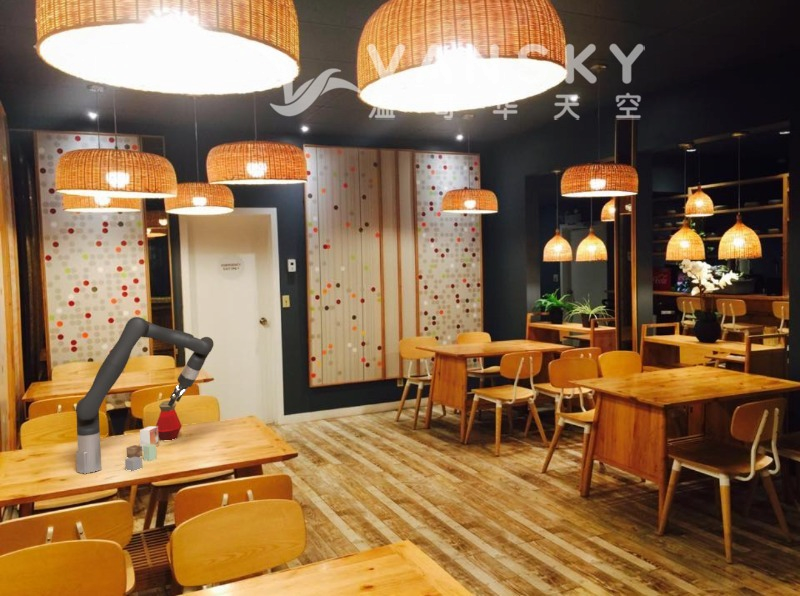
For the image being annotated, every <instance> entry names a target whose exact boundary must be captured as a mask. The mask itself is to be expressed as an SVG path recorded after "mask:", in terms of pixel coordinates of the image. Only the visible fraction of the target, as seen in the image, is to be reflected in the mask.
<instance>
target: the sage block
mask: <svg viewBox="0 0 800 596" xmlns="http://www.w3.org/2000/svg"><path fill="white" fill-rule="evenodd" d="M142 454H143V461H144V460H147V461H146V462H149V461H150V462H153V461H155V460H154V459H156V460H157V448H156V445H153V444H148V445H145V446H143V450H142ZM152 460H153V461H152Z"/></svg>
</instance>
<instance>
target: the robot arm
mask: <svg viewBox="0 0 800 596" xmlns="http://www.w3.org/2000/svg"><path fill="white" fill-rule="evenodd" d="M141 338H149V339H155V340H159V341H162V342H164V343H167V344H169V345H173V346H175V347H180V348H184V349H188V350H189V351H191V352H192V354H191V355H190V357H189V359H188V361H187V362H186V364H185V365H184V367H183V368H182V370H181V372H180V374H179V375H178V377H177V378H176V379H177V382H178V384H179V385H177V386H175V388H174V390H173V391H172V394H171V395H170V396H169V398H170V400H168V401H169V403H168V405H169V406H170V407H172V406H173V404H174V403H176V402H177V403H179V402H180V400H181V398H182V397H183V396H184V394H185V393H186V392H187V390H188V388H191V387H193V385H194V383H195V381H196V379H197V377H199V373H200V371H201V369H202V367H203V366H204V364H205V362H206V359H207V358H208V355H210V353H211V351H212V350H213V348H214V343H215V342H214V341H213V339H212V338H211V337H209V336H204V337H201V338H198V337H194V335H193V334H191V333H189V332H185V331H181V330H177V329H172V328H167V327H164V326H160V325H157V324H154V323H152V322H151V321H148V320H146V319H144V318H143V317H140V316H135V317H131V318H130V319H129V320H128V321H127V322H126V324H125V326H124V329H123V331H122V332H121V334H120V335H119V338H118V340H117V342H116V343H115V345H114V346H113V347H112V349H111V350H110V351H109V353H108V354H107V356H106V357H105V358H104V361H103V362H102V364H101V365H100V367H99V369H98V371H97V372H96V375H95V378H94V380H93V382H92V385H91V387H89V388H90V389H89V390H88V391H87V393H86V394H85V396H84V397H82V398H81V399H79V400H78V402H77V403H76V406H75V415H76V433H77V434H76V435H77V451H76V452H75V457H76V458H75V459H76V473H78V472H80V474H83V473H84V475H87V474H91V473H90V472H93V473H96V472H95V471H97V472H99V471H101V470H102V450H101V449H102V448H101V434H100V433H101V431H100V430H101V429H100V412H99V411H100V408H101V406H102V404H103V402H104V400H105V398H106V397H107V395H108V394H109V392H110V391H111V389H112V388H113V387H114V386H115V384H116V383H117V381H118V379H119V378H120V376H121V374H122V373H123V371H124V370H125V368H126V366H127V364H128V362H129V359H130V357H131V353H132V351H133V349H134V348H135V346H136V344H137V342H138V341H139V340H140V339H141ZM100 469H101V470H100ZM98 470H99V471H98ZM86 473H87V474H86Z"/></svg>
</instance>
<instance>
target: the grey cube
mask: <svg viewBox="0 0 800 596" xmlns="http://www.w3.org/2000/svg"><path fill="white" fill-rule="evenodd" d="M124 463H125V464H124V465H125V466H124V467H125V470H126V469H127V470H131V471H130V472H132V471H134V470H137V469H140V468H142V469H143V457H132V458H125V459H124ZM127 470H126V471H127ZM140 470H141V469H140ZM137 471H138V470H137ZM134 472H135V471H134Z"/></svg>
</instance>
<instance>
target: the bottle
mask: <svg viewBox="0 0 800 596" xmlns="http://www.w3.org/2000/svg"><path fill="white" fill-rule="evenodd" d="M169 401H170V400H165V401H162V402H161V403H160V404H159V406H158V407H159V409H160V413H159V416H158V419H157V422H156V424H155V426H157V427H158V435H159V439H160V441H161V440H171V441H173V440H172V439H174V440H176V439H177V438H178V436H179V432H181V428H182V423H181V421H180V419H179V416H178V414H177V412H176V406H177V403H176V402H175V403H174V404H173V406H172V407H170V406H169V405H168V403H169ZM175 438H176V439H175Z"/></svg>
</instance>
